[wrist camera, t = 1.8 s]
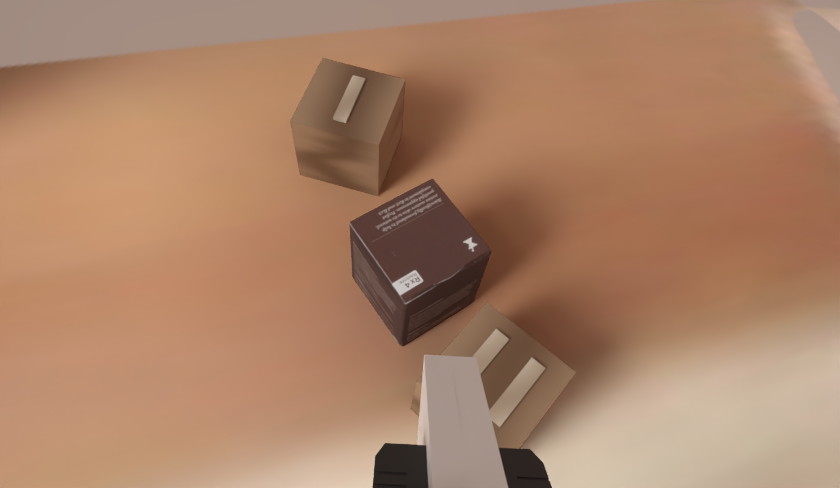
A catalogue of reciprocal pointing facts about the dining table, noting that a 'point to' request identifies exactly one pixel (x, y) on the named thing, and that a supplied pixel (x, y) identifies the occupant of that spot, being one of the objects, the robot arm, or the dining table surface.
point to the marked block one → (348, 126)
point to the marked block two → (508, 374)
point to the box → (417, 260)
